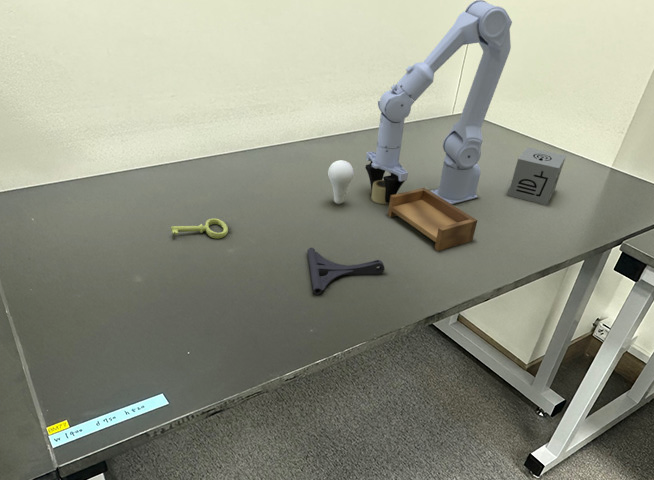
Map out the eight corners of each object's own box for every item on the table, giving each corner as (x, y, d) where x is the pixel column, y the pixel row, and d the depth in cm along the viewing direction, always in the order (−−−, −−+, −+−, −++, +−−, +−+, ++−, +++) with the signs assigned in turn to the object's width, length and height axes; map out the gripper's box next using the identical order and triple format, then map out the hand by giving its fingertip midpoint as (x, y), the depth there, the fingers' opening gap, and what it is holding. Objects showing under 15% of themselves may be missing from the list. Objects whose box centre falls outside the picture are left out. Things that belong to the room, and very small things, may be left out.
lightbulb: (348, 210, 129) (352, 167, 122) (324, 207, 130) (326, 164, 123) (352, 199, 133) (356, 157, 127) (328, 196, 134) (331, 154, 128)
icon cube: (546, 205, 136) (559, 168, 130) (507, 195, 140) (518, 158, 134) (554, 191, 143) (566, 155, 137) (516, 182, 147) (526, 147, 141)
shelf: (420, 206, 132) (424, 187, 129) (472, 240, 120) (477, 220, 117) (387, 215, 128) (390, 195, 125) (437, 251, 115) (442, 230, 112)
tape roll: (384, 192, 138) (386, 177, 135) (396, 201, 134) (399, 186, 132) (367, 196, 135) (368, 181, 133) (379, 205, 132) (381, 190, 129)
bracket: (390, 293, 102) (392, 281, 100) (313, 295, 100) (313, 282, 99) (376, 254, 113) (378, 242, 112) (307, 254, 112) (307, 243, 110)
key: (168, 235, 116) (167, 226, 114) (219, 221, 122) (219, 212, 120) (182, 249, 111) (181, 241, 110) (235, 234, 117) (234, 226, 116)
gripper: (358, 136, 129) (353, 188, 138) (393, 157, 120) (386, 212, 128) (381, 132, 132) (375, 183, 141) (418, 153, 123) (409, 206, 131)
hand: (382, 196), depth 134 cm, fingers closed on tape roll, 5 cm apart
